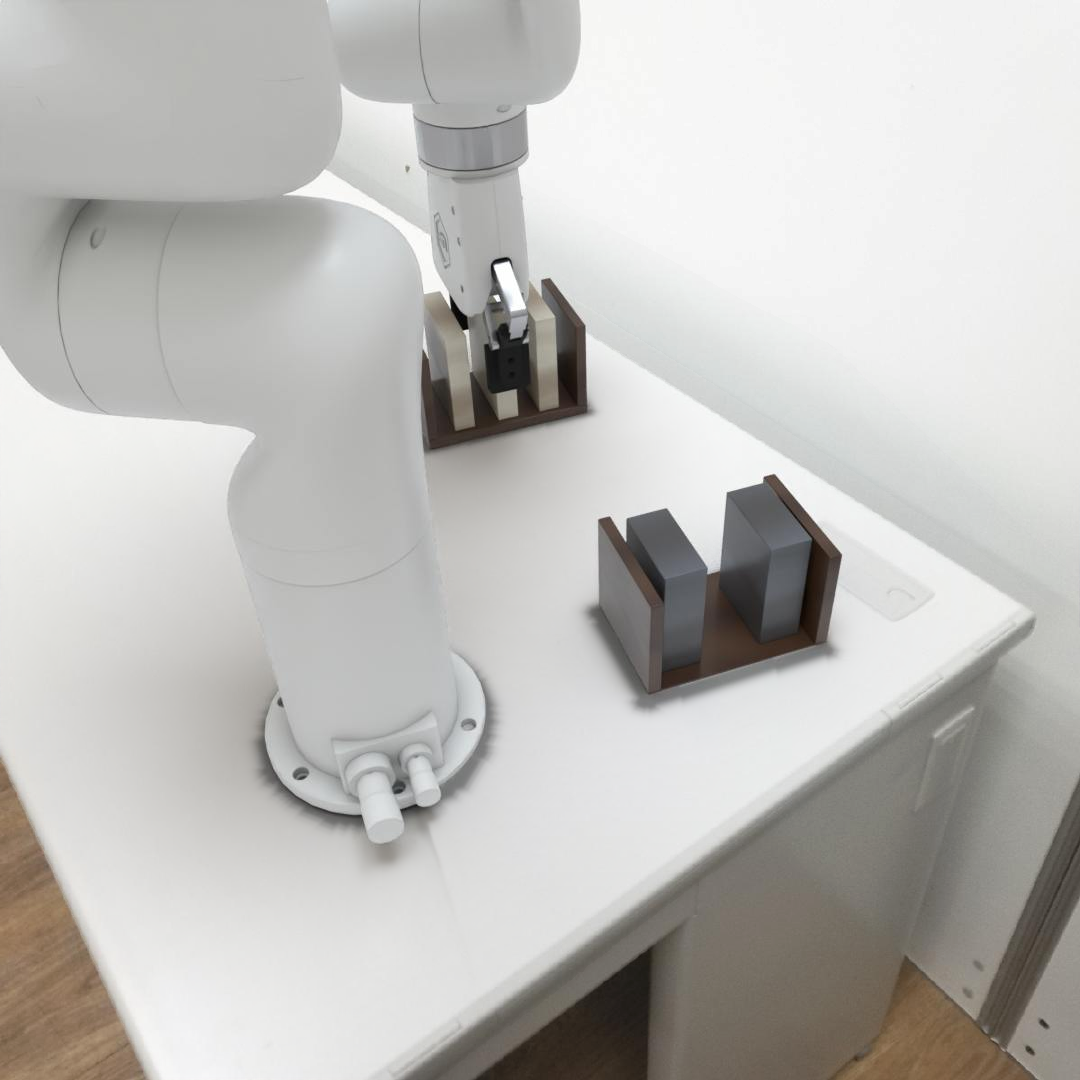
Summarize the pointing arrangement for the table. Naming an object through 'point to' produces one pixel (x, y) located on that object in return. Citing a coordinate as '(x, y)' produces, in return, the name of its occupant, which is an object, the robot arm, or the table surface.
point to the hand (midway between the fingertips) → (490, 356)
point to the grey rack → (717, 588)
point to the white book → (500, 402)
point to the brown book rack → (552, 394)
